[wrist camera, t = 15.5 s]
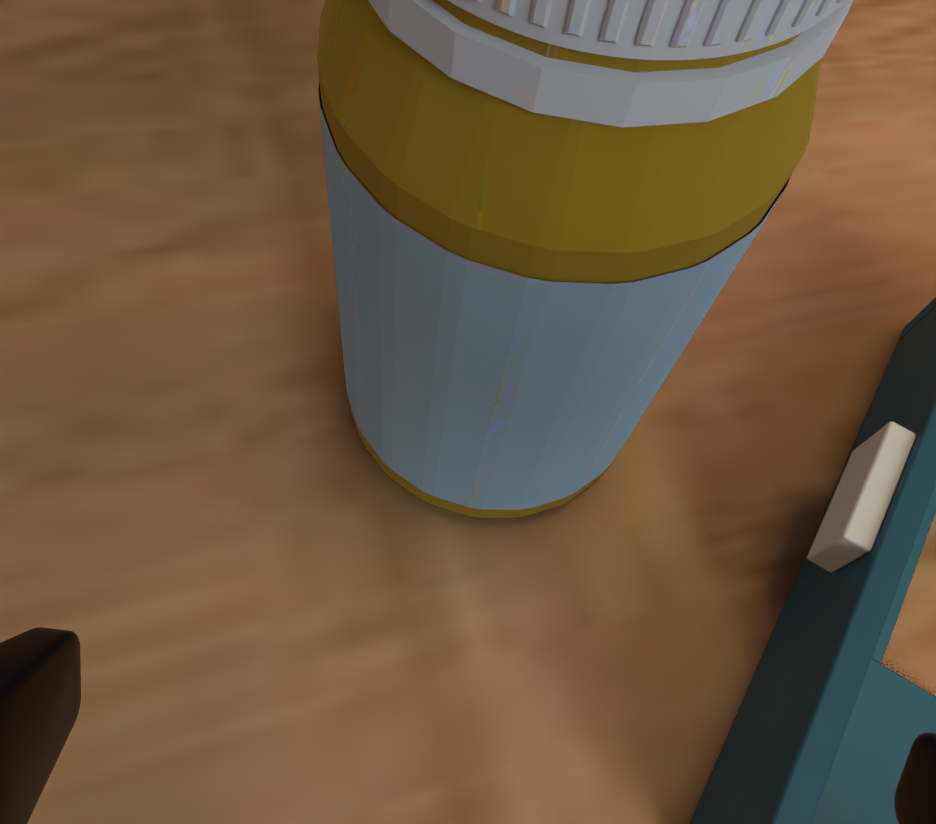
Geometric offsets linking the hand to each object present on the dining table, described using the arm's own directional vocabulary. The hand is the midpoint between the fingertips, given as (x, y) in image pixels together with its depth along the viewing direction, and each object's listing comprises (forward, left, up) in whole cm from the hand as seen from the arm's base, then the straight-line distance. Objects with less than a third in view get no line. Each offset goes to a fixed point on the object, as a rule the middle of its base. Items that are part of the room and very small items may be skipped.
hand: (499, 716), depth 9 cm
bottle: (+9, -1, -9) cm, 13 cm away
